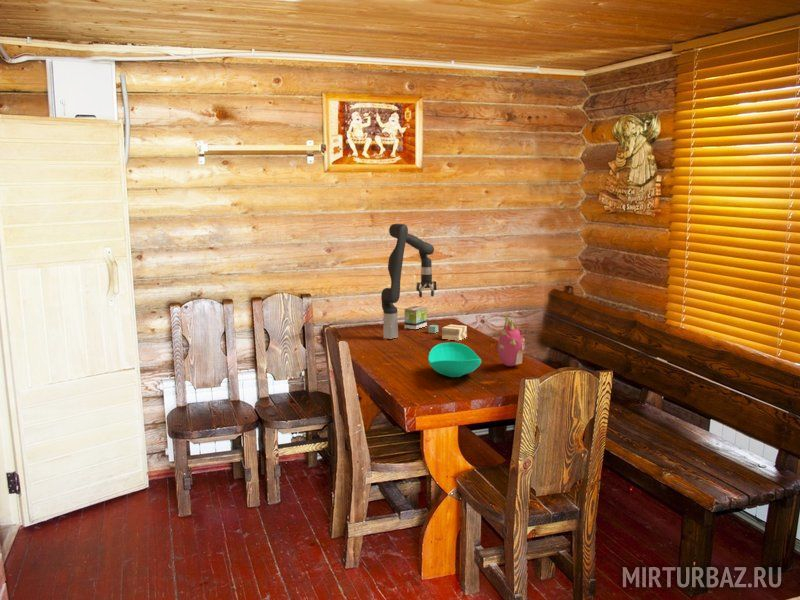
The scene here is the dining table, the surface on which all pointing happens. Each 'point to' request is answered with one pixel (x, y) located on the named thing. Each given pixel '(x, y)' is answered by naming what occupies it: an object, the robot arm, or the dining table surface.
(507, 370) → the dining table surface
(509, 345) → the pink dragon fruit
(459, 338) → the birch block
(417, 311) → the tea box
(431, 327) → the teal cube
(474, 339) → the dining table surface
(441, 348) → the table top decor
